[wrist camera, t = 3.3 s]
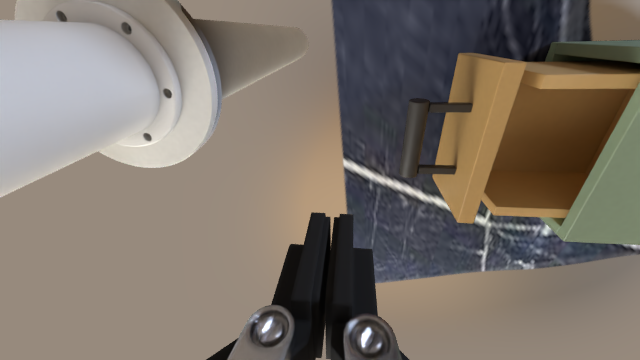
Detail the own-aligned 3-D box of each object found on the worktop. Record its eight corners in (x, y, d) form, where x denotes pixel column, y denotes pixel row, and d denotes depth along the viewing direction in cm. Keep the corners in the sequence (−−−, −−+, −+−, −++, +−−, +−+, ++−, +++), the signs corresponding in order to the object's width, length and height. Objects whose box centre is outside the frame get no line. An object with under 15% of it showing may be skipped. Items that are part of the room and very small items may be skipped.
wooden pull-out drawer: (388, 176, 27) (400, 220, 21) (403, 54, 21) (425, 63, 15) (577, 181, 25) (653, 231, 19) (647, 49, 20) (787, 57, 13)
